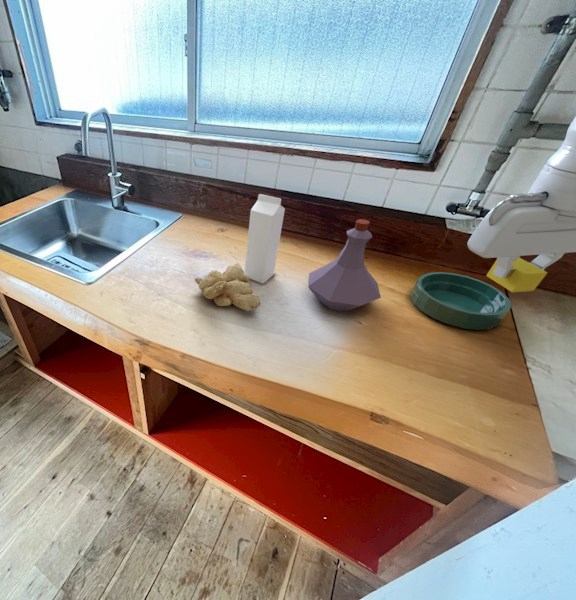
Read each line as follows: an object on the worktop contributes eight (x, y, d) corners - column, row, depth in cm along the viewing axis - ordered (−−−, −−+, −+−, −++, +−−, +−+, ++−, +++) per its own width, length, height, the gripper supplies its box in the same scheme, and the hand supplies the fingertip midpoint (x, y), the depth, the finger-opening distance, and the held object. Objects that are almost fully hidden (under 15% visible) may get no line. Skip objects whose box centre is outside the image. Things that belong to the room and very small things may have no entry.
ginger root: (196, 273, 88) (203, 249, 82) (252, 289, 87) (263, 265, 82) (186, 310, 76) (194, 284, 70) (251, 328, 75) (264, 303, 70)
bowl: (520, 328, 68) (533, 312, 65) (443, 334, 67) (453, 317, 64) (459, 285, 81) (468, 270, 78) (395, 289, 80) (401, 274, 78)
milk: (262, 284, 85) (275, 202, 72) (243, 276, 88) (251, 197, 75) (274, 274, 88) (287, 195, 75) (254, 267, 92) (264, 190, 78)
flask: (384, 296, 78) (418, 218, 66) (362, 331, 69) (397, 247, 57) (318, 274, 88) (337, 202, 76) (290, 302, 78) (307, 224, 66)
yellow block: (533, 291, 52) (548, 272, 49) (512, 292, 51) (525, 274, 49) (505, 274, 56) (518, 256, 53) (485, 275, 55) (497, 258, 53)
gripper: (525, 203, 41) (469, 290, 50) (674, 193, 42) (594, 281, 50) (484, 187, 46) (439, 269, 55) (617, 179, 47) (553, 261, 55)
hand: (515, 275), depth 52 cm, fingers closed on yellow block, 3 cm apart
